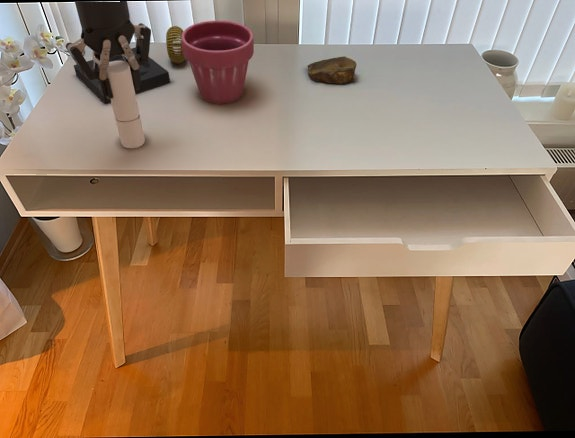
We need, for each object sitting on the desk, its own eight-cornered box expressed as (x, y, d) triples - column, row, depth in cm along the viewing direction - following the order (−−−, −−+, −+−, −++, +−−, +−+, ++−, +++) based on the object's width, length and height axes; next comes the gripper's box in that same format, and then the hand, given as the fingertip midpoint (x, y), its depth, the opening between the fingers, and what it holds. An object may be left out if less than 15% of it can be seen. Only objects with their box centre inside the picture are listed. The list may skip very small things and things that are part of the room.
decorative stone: (310, 86, 112) (311, 71, 109) (305, 65, 118) (305, 51, 116) (357, 84, 112) (359, 69, 110) (349, 64, 119) (351, 49, 117)
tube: (134, 150, 93) (116, 75, 83) (116, 143, 95) (97, 68, 84) (149, 139, 96) (134, 64, 85) (132, 132, 97) (115, 58, 87)
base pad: (105, 104, 105) (102, 93, 103) (76, 75, 113) (73, 65, 111) (170, 82, 112) (168, 71, 110) (138, 57, 120) (136, 47, 118)
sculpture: (171, 53, 121) (166, 20, 116) (188, 53, 122) (184, 19, 116) (168, 69, 116) (163, 35, 110) (186, 69, 116) (182, 34, 110)
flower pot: (266, 101, 107) (265, 41, 98) (203, 117, 102) (196, 56, 93) (238, 71, 116) (235, 14, 107) (179, 85, 111) (170, 26, 102)
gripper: (131, -27, 82) (149, 72, 94) (41, -8, 75) (73, 96, 87) (153, -13, 78) (169, 88, 89) (61, 8, 71) (91, 115, 83)
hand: (121, 92), depth 88 cm, fingers closed on tube, 4 cm apart
